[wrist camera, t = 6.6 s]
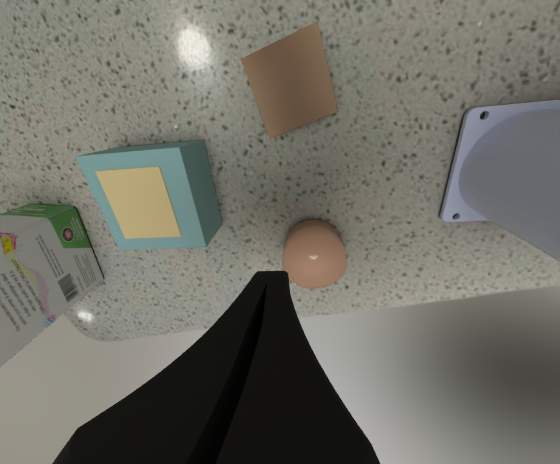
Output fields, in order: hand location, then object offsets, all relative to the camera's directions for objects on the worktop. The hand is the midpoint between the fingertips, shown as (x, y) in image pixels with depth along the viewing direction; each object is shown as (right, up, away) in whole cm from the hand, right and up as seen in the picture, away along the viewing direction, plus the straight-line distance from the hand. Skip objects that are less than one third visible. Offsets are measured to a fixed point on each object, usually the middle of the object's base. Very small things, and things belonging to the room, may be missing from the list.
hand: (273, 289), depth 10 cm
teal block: (-5, +5, +7) cm, 10 cm away
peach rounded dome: (+3, +1, +11) cm, 11 cm away
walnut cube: (+1, +12, +5) cm, 13 cm away
